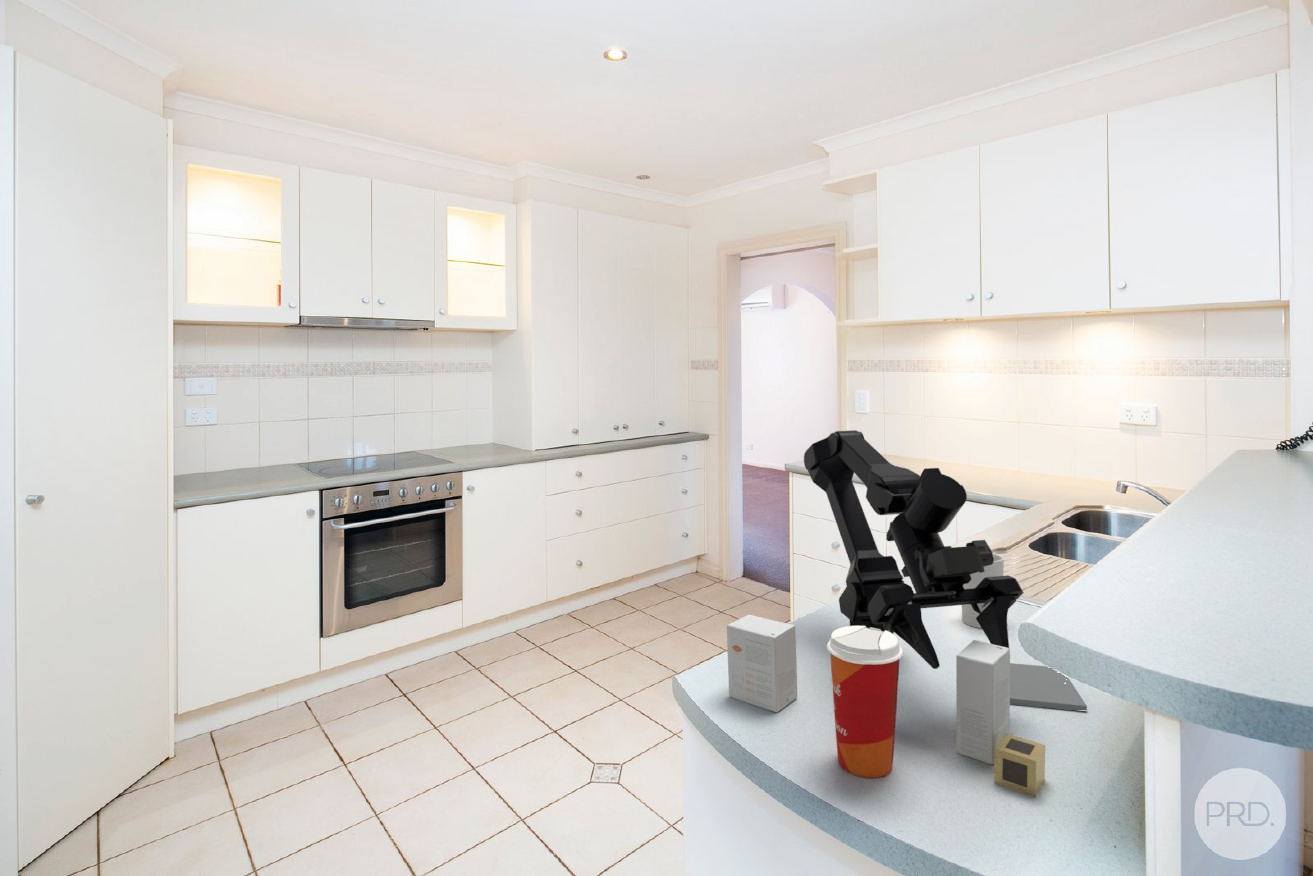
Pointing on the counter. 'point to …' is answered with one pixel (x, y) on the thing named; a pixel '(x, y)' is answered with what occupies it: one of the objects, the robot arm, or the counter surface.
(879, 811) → the counter surface
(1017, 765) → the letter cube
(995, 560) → the mug
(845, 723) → the coffee cup
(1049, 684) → the slate pad
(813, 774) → the counter surface
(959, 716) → the skincare box
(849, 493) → the robot arm
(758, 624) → the small box
